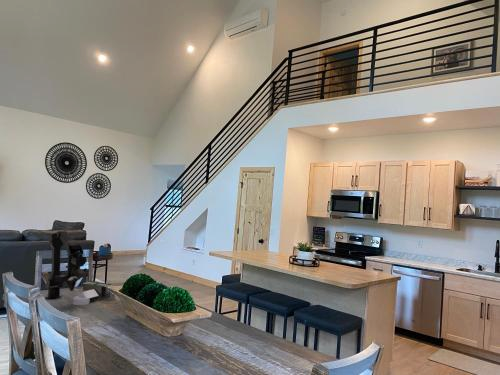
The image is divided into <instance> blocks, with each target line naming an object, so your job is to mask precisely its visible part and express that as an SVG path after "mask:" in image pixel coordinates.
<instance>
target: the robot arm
mask: <svg viewBox="0 0 500 375" xmlns="http://www.w3.org/2000/svg"><path fill="white" fill-rule="evenodd" d="M48 243H49V247H50V248H51V272H50V274H49V275H48V278H47V281H46V282H45V285H44V286H45V288H44V289H47V296H45V299H49V300H55V299H59V298H62V295H61V294H60V293H61V290H60V288H63V287H64V286H63V285H64V283H66V284H67V287H68V289H69V290H70V292H73V291H74V289H75V287H76V285H77V282H78V281H79V280H81V279H82V278H86V277H89V272H88V271H89V270H88V268H87V267H86V268H81V267H83V266H84V265H85V264H86V263H87V259H86V257H84V249H83V246H82V244H81V243H80V241H77V240H74V239H73V238H72V237H71V236H70V235H69V233H68V232H67V231H65V230H62V231H61V230H60V231H56V232H55V233H53V234H51V235H50V236H49V237H48ZM64 245H65V250H66V256H67V264H66V266H65V269H67V270H66V272H65V275H64V274H62V272H61V249H62V248H63V246H64Z"/></svg>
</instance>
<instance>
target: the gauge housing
mask: <svg viewBox="0 0 500 375" xmlns="http://www.w3.org/2000/svg"><path fill="white" fill-rule="evenodd" d="M82 284H83V285H82V292H84V291H86V285H87V284H95V283H93V282H89V281H86V282H83V283H82ZM96 285H101V286H102V299H101V300H103V301H104V300H105V301H109V302H110V301H114V300H115V298H116V294H115V295H114V294H112V293H111V292H110V291H108V286H113V285H112V284H111V285H106V284H96Z"/></svg>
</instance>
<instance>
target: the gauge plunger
mask: <svg viewBox="0 0 500 375" xmlns="http://www.w3.org/2000/svg"><path fill="white" fill-rule="evenodd" d="M88 282H92V283H95V284H87V285H86V291H88V290H92V289H94V290H95V291H96V293H97V294H98V295H99V296H95V297H92V298H93V299H97V300H98V299H99V300H103V299H102V286H101V285H96V284H105V285H112V283H106V282H101V281H95V280H88ZM92 298H91V299H92Z"/></svg>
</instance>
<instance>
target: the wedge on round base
mask: <svg viewBox="0 0 500 375" xmlns="http://www.w3.org/2000/svg"><path fill="white" fill-rule="evenodd" d="M95 296H99V295H98V294H97V293H96V291H95V290H94V289H92V290H88V291H84V292H83V291H82V292H80V293H79V294H78V295H77V296H74V297H73V302H72V303H73V305H74V306H84V305H89V304H90V302H91V299H92V297H95Z"/></svg>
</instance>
